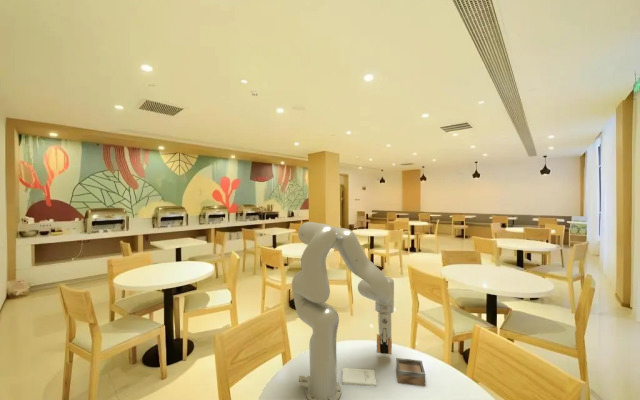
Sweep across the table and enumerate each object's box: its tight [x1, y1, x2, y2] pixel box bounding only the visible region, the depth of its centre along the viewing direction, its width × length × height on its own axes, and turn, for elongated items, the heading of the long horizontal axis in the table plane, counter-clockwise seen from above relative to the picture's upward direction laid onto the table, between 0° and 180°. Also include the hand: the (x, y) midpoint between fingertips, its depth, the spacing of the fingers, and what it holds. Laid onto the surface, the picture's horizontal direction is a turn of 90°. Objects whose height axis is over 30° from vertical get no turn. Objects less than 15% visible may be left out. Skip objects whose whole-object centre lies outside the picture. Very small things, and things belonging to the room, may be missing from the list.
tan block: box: [376, 333, 393, 355], centre depth 115 cm, size 6×4×6 cm
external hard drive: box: [341, 367, 377, 387], centre depth 104 cm, size 2×8×12 cm
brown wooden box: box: [395, 357, 426, 387], centre depth 104 cm, size 10×8×4 cm
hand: (383, 349), depth 115 cm, fingers closed on tan block, 4 cm apart
